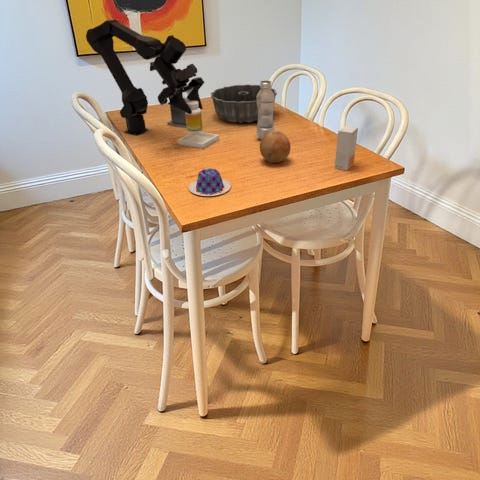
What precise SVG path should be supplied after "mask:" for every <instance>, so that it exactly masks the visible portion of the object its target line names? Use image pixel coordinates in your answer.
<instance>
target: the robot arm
mask: <svg viewBox="0 0 480 480" xmlns="http://www.w3.org/2000/svg"><path fill="white" fill-rule="evenodd" d="M114 37H115V38H117V39H118V40H119V41H122V42H124V43H125V44H127V45H129V46H130V47H132V48H133V49H134V50H135V52H136V54H137V55H139V56H140V57H141V58H142V59H143V60H147V61H148V60H152V59H154V60H153V61H151V62H149V71H150V72H154V71H156V72H157V73H158V75H159V76H160V77H161V79H162V81H161V84H162V85H163V86H164V85H166V87H164V88H163V89H162V90H161V91H160V93H159V94H158V95H157V101H158V103H159V104H160V105H161V106H163V105H166V104H168V105H169V106H170V105H173V106H175V107H177V108H179V109H181V110H183V111H185V112H186V113H188V114H191V113H192V111H191V109H190V108H189V106H188V105H187V103H186V102H185V100H184V99H183V98H184V95H183V94H184V93H186V94H187V95H186V96H185V98H187V99H189V100H190V101H198V103H199V107H198V108H200V109H201V111H202V110H203V108H204V107H203V104H202V101H201V98H200V94H199V91H200V89H201V88H202V86H203V85H204V84H205V81H204V79H203V78H202V77H199V76H198V77H196V76H197V73H198V68H197V67H196V66H195V64H194V63H190V64H187V66H186V67H185V68H183V69H181V68H176V66H175V64H177V63H178V61H179V60H180V59H181V58H182V57H183V55H184V54H185V52H186V51H187V47H186V45H185V43H184V42H183V41H182V40H180V39H179V38H177V37H175V36H174V35H173V34H171V35H168V36H167V37H166V40H165V41H164V42H162V41H161V40H160V39H158V38H157V37H156V38H155V37H153V36H147V35H143V34H140V33H139V32H137V31H135V30H133V29H131V28H129V27H128V26H126V25H124V24H123V23H122V22H120V21H119V20H117V19H116V18H115V19H113V18H112V19H108V20H104V21H103V22H102V23H100V24H99V25H97V26H95V27H92V28H89V29H87V31H86V35H85V39H86V41H87V43H88V45H89V46H90V48H92V50H93V51H94V52H95V53H96V54H98V55H100V56H101V58H102V60H103V61H104V63H105V65H106V67H107V68H108V70H109V72H110V74H111V76H112V78H113V79H114V82H115V83H116V85H117V86H118V88H119V91H120V92H121V102H122V104H123V106H122V108H121V109H120V111H119V115H120V117H121V118H123V119H125V123H126V124H125V125H126V129H127V130H124V133H125V134H131V135H135V136H137V135H138V136H139V135H140V134H142V133H145V132H147V131H148V130H149V129H148V128H146V121H145V117H144V115H146V114H147V111H148V106H149V105H148V104H149V101H148V97H147V96H146V94H145V92H144V89H143V88H141V87H139V88H138V87H136V86H134V84H133V82H132V80H131V78H130V77H129V75H128V73H127V71H126V70H125V67H124V65H123V63H122V62H121V60H120V59H119V57H118V55H117V53H116V51H115V50H114V49H115V47H114ZM191 78H192V79H191ZM190 79H191V80H190Z"/></svg>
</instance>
